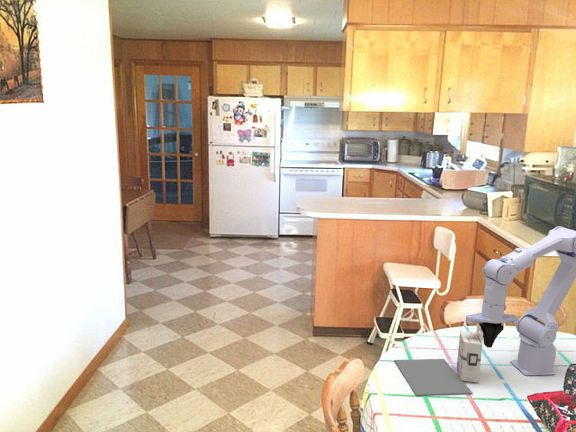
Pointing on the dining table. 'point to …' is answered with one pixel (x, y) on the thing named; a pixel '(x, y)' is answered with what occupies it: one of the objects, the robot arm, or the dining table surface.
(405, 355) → the dining table surface
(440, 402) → the dining table surface
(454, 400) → the dining table surface
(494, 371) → the dining table surface
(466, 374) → the ink box
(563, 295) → the robot arm
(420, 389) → the rubber mat
